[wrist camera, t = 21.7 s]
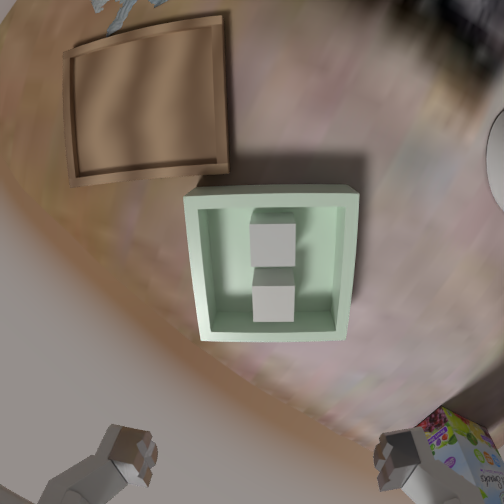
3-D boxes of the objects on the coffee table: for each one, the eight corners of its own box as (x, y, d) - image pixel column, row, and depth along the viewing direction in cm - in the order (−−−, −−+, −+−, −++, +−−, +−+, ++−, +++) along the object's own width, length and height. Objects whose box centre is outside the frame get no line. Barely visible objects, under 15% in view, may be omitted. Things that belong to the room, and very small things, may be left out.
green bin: (347, 184, 31) (359, 193, 26) (338, 315, 36) (345, 339, 32) (196, 187, 32) (183, 196, 27) (208, 316, 37) (200, 340, 33)
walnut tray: (224, 20, 25) (221, 15, 24) (230, 171, 31) (228, 173, 29) (70, 54, 26) (63, 52, 25) (77, 185, 32) (70, 187, 31)
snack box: (489, 424, 45) (529, 514, 21) (459, 449, 47) (490, 539, 24) (443, 401, 41) (493, 526, 17) (405, 431, 44) (439, 554, 20)
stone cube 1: (292, 268, 33) (294, 285, 30) (292, 301, 35) (293, 321, 31) (254, 268, 34) (251, 286, 30) (255, 301, 35) (253, 321, 31)
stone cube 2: (292, 212, 31) (295, 223, 27) (292, 250, 33) (295, 266, 29) (252, 212, 31) (249, 224, 28) (253, 250, 33) (251, 266, 29)
